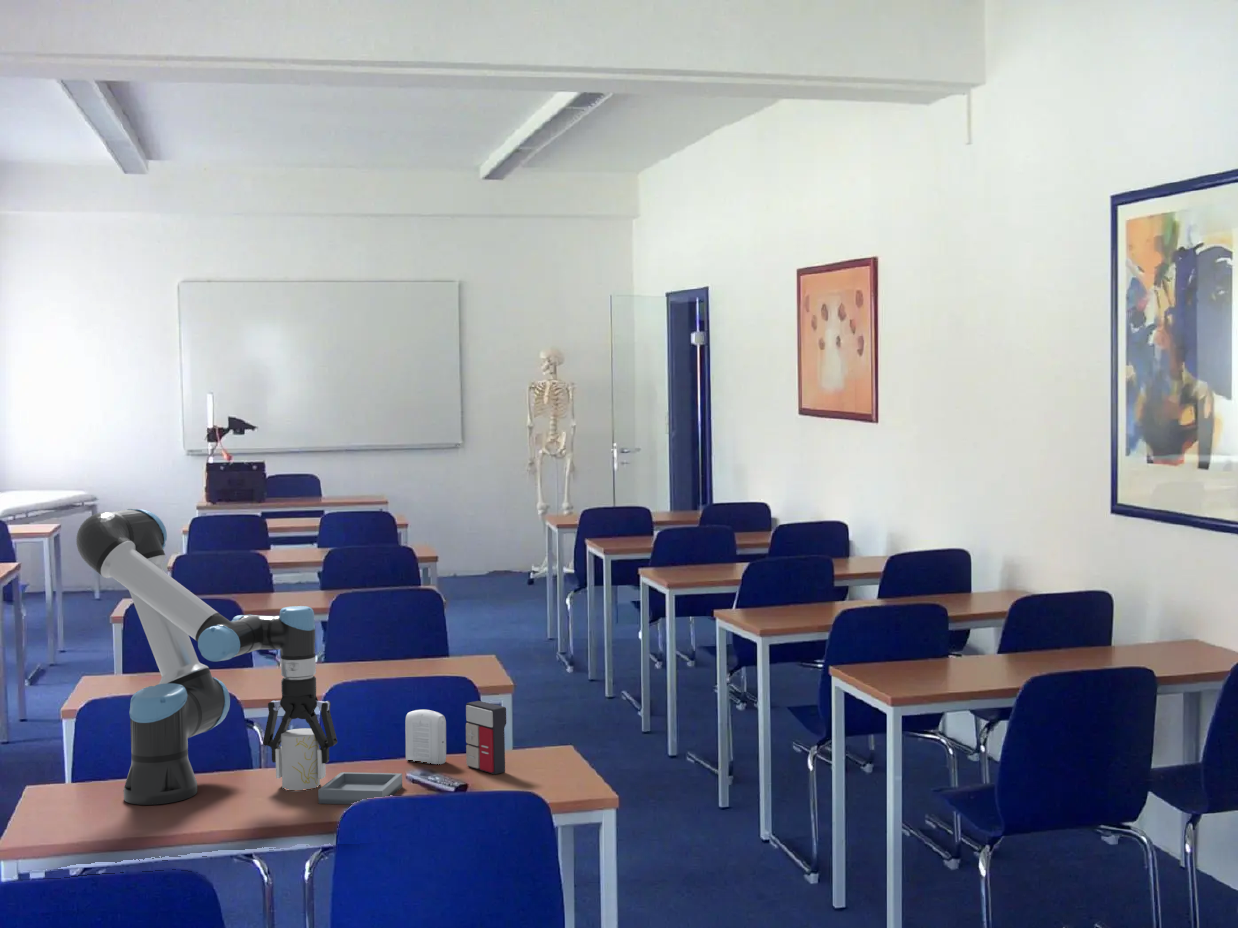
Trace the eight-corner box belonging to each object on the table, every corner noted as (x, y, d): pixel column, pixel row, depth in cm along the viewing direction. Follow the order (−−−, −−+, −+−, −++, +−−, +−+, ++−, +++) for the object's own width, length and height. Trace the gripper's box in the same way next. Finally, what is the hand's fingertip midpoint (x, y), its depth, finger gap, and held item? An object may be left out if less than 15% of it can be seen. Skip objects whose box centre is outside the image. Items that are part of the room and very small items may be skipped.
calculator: (464, 766, 304) (463, 703, 303) (479, 763, 306) (478, 700, 306) (492, 775, 295) (491, 710, 295) (507, 771, 298) (506, 707, 298)
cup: (298, 793, 284) (297, 738, 283) (274, 787, 288) (273, 733, 288) (327, 784, 290) (326, 731, 290) (303, 779, 295) (302, 726, 295)
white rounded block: (449, 761, 309) (448, 709, 308) (439, 765, 305) (438, 713, 305) (413, 757, 313) (412, 706, 313) (403, 761, 309) (401, 709, 309)
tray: (318, 803, 275) (318, 789, 275) (341, 785, 289) (341, 772, 289) (382, 804, 273) (382, 790, 273) (402, 786, 287) (402, 773, 287)
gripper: (245, 679, 286) (247, 780, 287) (339, 680, 283) (342, 782, 284) (259, 672, 294) (261, 771, 294) (351, 673, 291) (353, 773, 291)
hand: (300, 776), depth 289 cm, fingers open, 9 cm apart
